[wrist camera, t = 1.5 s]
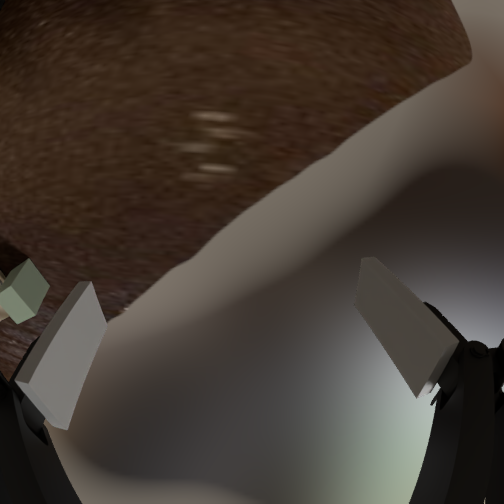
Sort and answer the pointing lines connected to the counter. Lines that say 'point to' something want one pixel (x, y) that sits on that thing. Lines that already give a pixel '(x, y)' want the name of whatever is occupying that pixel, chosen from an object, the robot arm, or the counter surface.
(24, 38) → the counter surface
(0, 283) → the beige flat rectangular board
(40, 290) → the sage block
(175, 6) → the counter surface
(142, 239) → the counter surface
